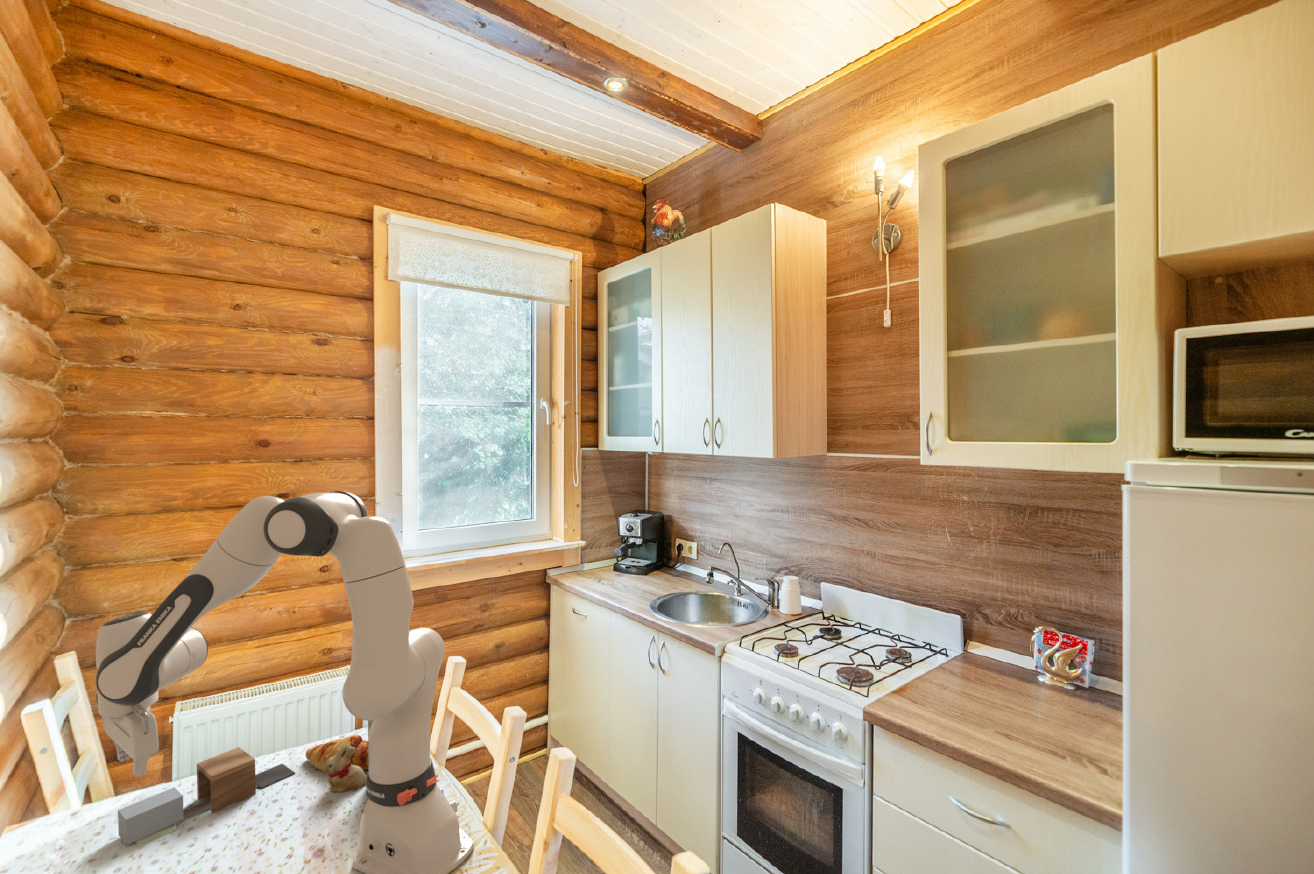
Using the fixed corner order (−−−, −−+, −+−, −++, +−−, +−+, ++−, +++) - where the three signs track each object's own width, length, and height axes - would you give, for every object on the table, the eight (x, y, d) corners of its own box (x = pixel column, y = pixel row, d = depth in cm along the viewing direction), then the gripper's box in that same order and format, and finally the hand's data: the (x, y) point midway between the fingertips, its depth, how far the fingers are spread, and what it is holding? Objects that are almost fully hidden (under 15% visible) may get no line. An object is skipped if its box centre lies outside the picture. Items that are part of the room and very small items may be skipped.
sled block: (183, 819, 123) (183, 795, 123) (126, 845, 115) (125, 819, 115) (174, 810, 125) (174, 787, 125) (118, 834, 118) (117, 809, 118)
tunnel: (296, 775, 139) (296, 741, 139) (139, 846, 115) (138, 806, 115) (280, 763, 144) (279, 731, 143) (125, 829, 120) (124, 791, 120)
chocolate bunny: (338, 777, 138) (337, 735, 137) (370, 779, 137) (370, 736, 137) (322, 792, 132) (321, 748, 132) (356, 794, 132) (355, 749, 131)
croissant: (298, 781, 143) (285, 760, 139) (323, 741, 151) (311, 721, 147) (380, 786, 139) (368, 766, 135) (401, 746, 148) (391, 725, 144)
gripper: (167, 704, 114) (170, 775, 114) (133, 679, 126) (136, 744, 126) (124, 718, 109) (127, 793, 109) (92, 691, 120) (96, 758, 121)
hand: (131, 766), depth 118 cm, fingers open, 8 cm apart
